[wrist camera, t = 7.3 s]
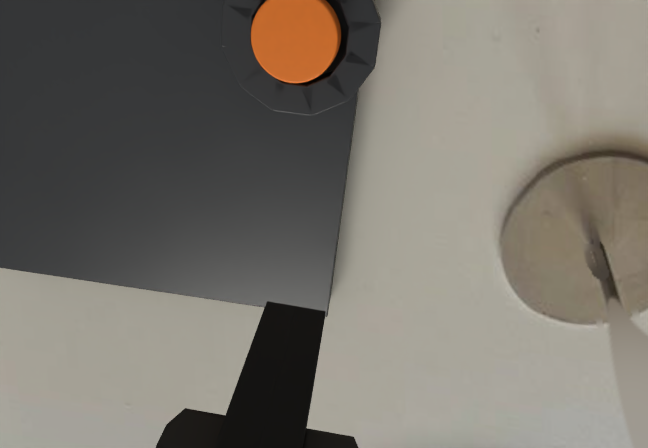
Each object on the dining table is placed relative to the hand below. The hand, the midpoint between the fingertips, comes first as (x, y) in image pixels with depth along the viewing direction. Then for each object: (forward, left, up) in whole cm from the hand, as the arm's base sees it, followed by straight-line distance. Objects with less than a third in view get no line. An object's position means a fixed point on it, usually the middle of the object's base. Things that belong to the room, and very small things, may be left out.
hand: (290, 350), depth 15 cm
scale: (+8, -1, -14) cm, 16 cm away
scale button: (+2, -7, -11) cm, 13 cm away
